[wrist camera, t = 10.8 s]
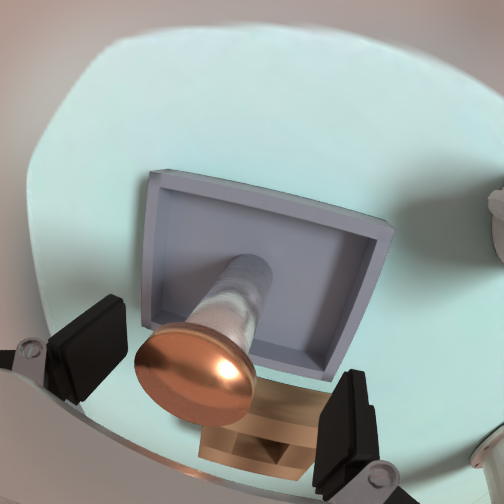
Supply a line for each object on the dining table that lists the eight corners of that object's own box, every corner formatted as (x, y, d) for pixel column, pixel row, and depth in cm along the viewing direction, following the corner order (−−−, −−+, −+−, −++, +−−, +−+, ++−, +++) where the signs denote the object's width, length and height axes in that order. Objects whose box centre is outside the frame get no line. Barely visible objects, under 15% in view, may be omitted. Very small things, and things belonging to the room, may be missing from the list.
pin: (291, 253, 17) (264, 364, 8) (275, 313, 19) (239, 437, 9) (222, 235, 18) (131, 319, 8) (212, 296, 19) (138, 400, 10)
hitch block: (338, 394, 21) (338, 431, 17) (301, 451, 24) (297, 480, 21) (221, 366, 22) (206, 400, 18) (209, 428, 26) (198, 456, 22)
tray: (384, 220, 16) (395, 229, 14) (330, 360, 20) (331, 382, 18) (168, 168, 18) (149, 171, 15) (156, 310, 22) (141, 326, 19)
